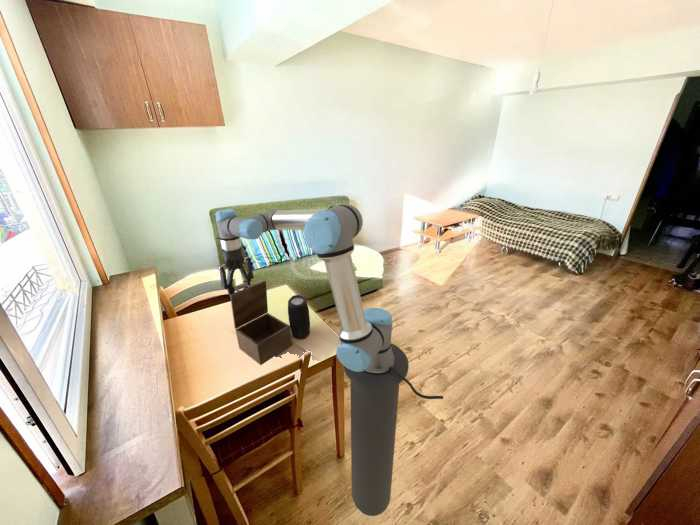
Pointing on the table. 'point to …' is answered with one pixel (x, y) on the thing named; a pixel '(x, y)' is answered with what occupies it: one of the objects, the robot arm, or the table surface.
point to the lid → (248, 303)
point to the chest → (264, 338)
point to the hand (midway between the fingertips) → (241, 297)
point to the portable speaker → (299, 316)
